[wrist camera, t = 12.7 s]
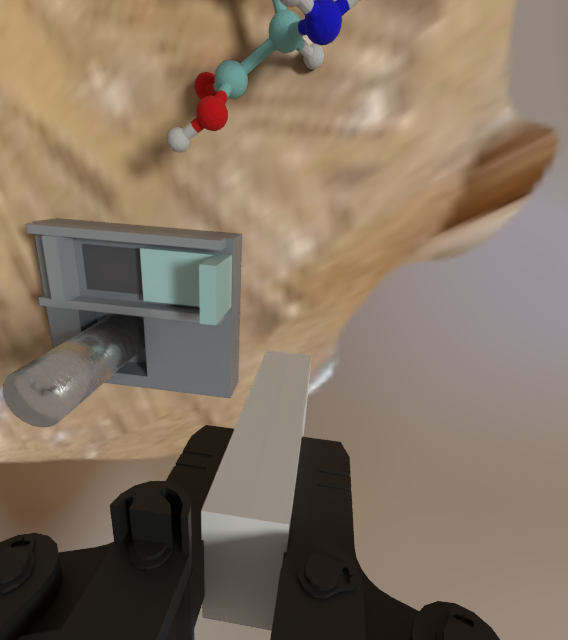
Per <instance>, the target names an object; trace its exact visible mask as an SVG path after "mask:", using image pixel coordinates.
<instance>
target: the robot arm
mask: <svg viewBox="0 0 568 640" xmlns="http://www.w3.org/2000/svg"><path fill="white" fill-rule="evenodd" d="M311 357H312V356H310V355H301V354H292V353H284V352H275V351H266V354H265V356H264V359H263V361H262V363H261V366H260V368H259V371H258V373H257V376H256V378H255V381H254V383H253V385H252V388H251V390H250V393H249V395H248V398H247V400H246V403H245V405H244V407H243V410H242V412H241V415H240V417H239V420H238V422H237V425H236V427H235V429H231V428H224V427H217V426H209V425H205V426H204V427H203V428H201V429H200V430H199V431H197V432H196V433H195V434H194V435H192V436H191V438H190V439H189V441H188V443H187V445H186V446H185V448H184V450H183V453H182V454H181V455H180V457H179V459H178V460H177V462H176V466H174V468H173V469H172V471H171V473H170V474H169V476H168V478H167V480H166V481H150V482H146V483H142V484H139V485H135V486H134V487H132V488H130V489H128V490H127V491H125V492H123V493H121V494H120V495H119V496H118V497H117V498H116V499H115V500H114V501H113V502H112V503H111V504H110V511H111V519H112V527H113V535H114V542H112V543H110V544H107V545H103V546H99V547H95V548H87V549H80V550H74V551H67V552H59V553H58V548H57V544H56V543H55V542H54V541H53V540H52V539H51V538H50V537H49V536H47V535H42V534H37V533H31V534H24V535H17V536H15V537H12V538H10V539H7V540H5V541H2V542H0V640H194V627H195V624H196V621H197V618H198V615H199V612H200V608H201V605H202V604H203V606H202V607H203V618H208V619H213V620H219V621H224V622H229V623H235V624H240V625H246V626H251V627H256V628H262V629H267V630H272V632H271V640H500V639H499V638H498V636H497V635H496V634H495V632H494V631H493V629H492V628H491V627H490V626H489V625H488V624H487V623H485V622H484V621H483V620H482V619H481V618H480V617H478V616H477V615H476V614H475V613H474V612H472V611H470V610H468V609H466V608H464V607H462V606H459V605H457V604H455V603H449V602H441V601H437V602H434V603H431V604H428V605H425V606H424V607H423V608H422V609H421V610H420V611H417V610H416V609H413V608H412V607H410V606H408V605H406V604H404V603H402V602H400V601H398V600H396V599H394V598H392V597H390V596H389V595H387V594H386V593H384V592H383V591H381V590H380V589H378V588H377V587H376V586H375V585H374V584H373V583H372V582H371V581H370V580H369V579H368V577H367V576H366V575H365V573H364V572H363V571H362V569H361V567H360V565H359V563H358V560H357V558H356V553H355V548H354V531H353V512H352V494H351V477H350V458H349V456H348V454H347V452H346V450H345V449H344V447H343V445H342V444H341V442H337V441H329V440H322V439H314V438H307V437H303V434H304V426H305V416H306V406H307V397H308V387H309V377H310V367H311Z"/></svg>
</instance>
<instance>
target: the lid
mask: <svg viewBox="0 0 568 640" xmlns="http://www.w3.org/2000/svg"><path fill="white" fill-rule="evenodd" d="M140 257H141V272H142V286H143V301H150V302H159V303H169V304H179V305H188V306H198V307H200V324H207V325H217V324H218V322H219V321H220V320H221V319H222V318H223V316H224V315H225V314H226V313H227V312H228V310H229V309H230V308H231V293H232V255H230V254H219V253H208V252H196V251H185V250H174V249H163V248H152V247H142V248H140Z"/></svg>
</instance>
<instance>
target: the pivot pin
mask: <svg viewBox="0 0 568 640" xmlns="http://www.w3.org/2000/svg"><path fill="white" fill-rule="evenodd" d="M144 347H145V332H144V322H143V320H142V319H141V318H140V317H139V316H133V315H123V314H114V313H113V314H111V315H109V316H108V317H106V318H104V319H103V320H101V321H99V322H98V323H96V324H94V325H93V326H91V327H89V328H87V329H86V330H84V331H82V332H81V333H79V334H77V335H76V336H74V337H72V338H71V339H69V340H67V341H66V342H64V343H62V344H60V345H59V346H57V347H55V348H54V349H52V350H50V351H49V352H47V353H45V354H44V355H42V356H40V357H39V358H37V359H35V360H33V361H32V362H30V363H28V364H27V365H25V366H23V367H22V368H20V369H18V370H17V371H15V372H13V373H12V374H10V375H9V376H8V377H7V378H6V380H5V381H4V384H3V396H4V399H5V402H6V404H7V405H8V407H9V408H10V410H11V411H12V412H13V413H14V414H15V415H16V416H17V417H18V418H19V419H21V420H22V421H24V422H26V423H28V424H30V425H33V426H37V427H50V426H53V425H55V424H57V423H58V422H59V421H61V420H62V419H63V418H64V417H65V416H66V415H67V414H69V413H70V412H71V411H72V410H73V409H74V408H75V407H77V406H78V405H79V404H80V403H81V402H82V401H83V400H85V399H86V398H87V397H88V396H89V395H90V394H91V393H93V392H94V391H95V390H96V389H97V388H98V387H99V386H101V385H102V384H103V383H104V382H105V381H106V380H108V379H109V378H110V377H111V376H112V375H113V374H114V373H116V372H117V371H118V370H119V369H120V368H121V367H122V366H124V365H125V364H126V363H127V362H128V361H129V360H130V359H132V358H133V357H134V356H135V355H136V354H137V353H138V352H140V351H141V350H142V349H143V348H144Z"/></svg>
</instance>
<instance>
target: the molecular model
mask: <svg viewBox="0 0 568 640" xmlns="http://www.w3.org/2000/svg"><path fill="white" fill-rule="evenodd" d="M272 1H273V5H274V9H275V15H274V16H273V18H272V20H271V22H270V26H269V39H267V40H266V41H265V42H264V43H263V44H262V45H261V46H259V47H258V48H257V49H256V50H255V51H254V52H253V53H252V54H250V55H249V56H248V57H247V58H246V59H245V60H244V61H242V62H241V63H239V62H237V61H234V60H226V61H223V62H222V63H221V64H220V65H219V66H218V67H217V69H216V72H215V75H214V74H212V73H209V72H204V73H201V74H200V75H198V76H197V79H196V81H195V91H196V93H197V95H198V97H199V98H200V99H201V100H200V102H199V104H198V106H197V118H195V119H194V120H193V121H192V122H190V123H189V124H188V125H187V126H185V127H184V128H183V129H182V128H180V127H175V128H172V129H171V130H170V131H169V132H168V134H167V143H168V145H169V147H170V148H171V149H172V150H173V151H176V152H184V151H186V150H187V149H188V148H189V146H190V139H191V138H193V137H194V136H195V135H196V134H198V133H199V132H200V131H202V130H203V129H204V128H205V129H207V130H211V131H217V130H220V129H221V128H223V127H224V126H225V124H226V122H227V119H228V111H227V108H226V106H225V103H226V101H227V99H228V98H229V99H236V98H238V97H240V96H242V95H243V93H244V92H245V90H246V88H247V84H248V76H247V74H248V73H249V72H251V71H252V70H253V69H254V68H255V67H256V66H257V65H259V64H260V63H261V62H262V61H263V60H264V59H265V58H267V57H268V56H269V55H270V54H271V53H272V52H273V51H275V50H278V51H279V52H282V53H289V52H292V51H294V50H295V49H296V50H297V51H298V52H299V53H301V54H302V55H303V60H304V63H305V65H306V66H307V67H308V68H309V69H316V68H319V67H320V66H321V64H322V63H323V60H324V52H323V50H322V48H321V47H320V46H319V45H327V44H329V43H331V42H332V41H333V40H334V39H335V38H336V37H337V35H338V34H339V32H340V28H341V23H342V15H344V14H345V13H346V12H347V11H348V10H350V9H351V8H352V7H353V6H354V5H355V4H357V3H358V2H359V1H360V0H337V1H335V2H334V1H333V0H315V1H314V0H272ZM286 6H288V7H295V6H297V7H298V8H299V9H300V10H301V11H302V12H303V13H304V14H305V15H306V16H305V19H303V20H300V18H299V16H298V15H297V14H296V13H294V12H293V11H290V10H287V9H286ZM303 35H307V36H308V38H309V39H310V40H311V41H312V42H313V43H315V44H312V45H309V44H308V43H307V42H306V41H305V40H304V39H303V38H302V37H303ZM316 44H318V45H316Z"/></svg>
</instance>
